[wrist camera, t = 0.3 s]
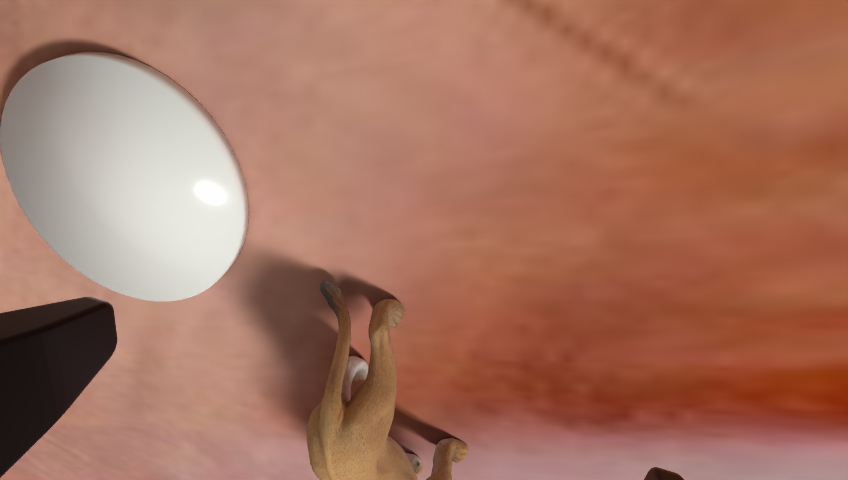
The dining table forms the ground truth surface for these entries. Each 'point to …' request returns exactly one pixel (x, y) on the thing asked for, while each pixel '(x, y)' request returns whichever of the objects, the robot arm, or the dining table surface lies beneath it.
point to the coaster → (124, 175)
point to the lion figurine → (366, 408)
